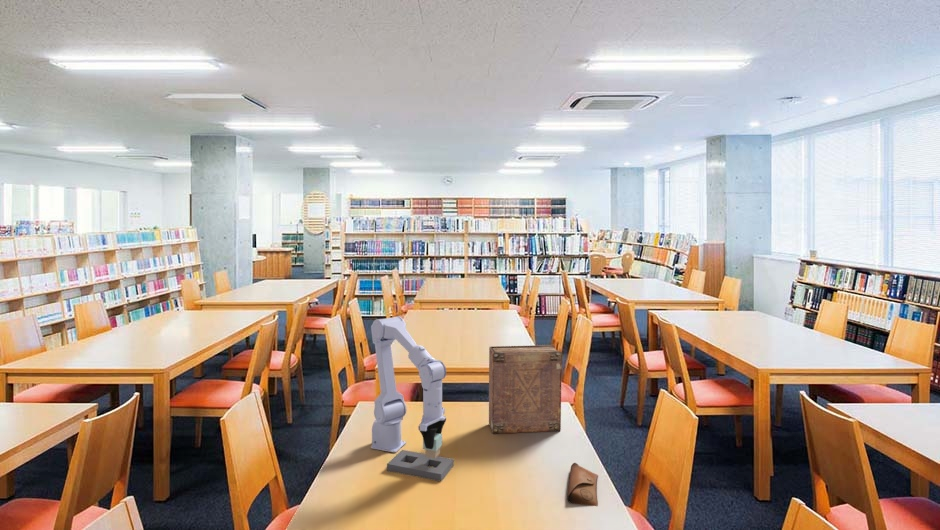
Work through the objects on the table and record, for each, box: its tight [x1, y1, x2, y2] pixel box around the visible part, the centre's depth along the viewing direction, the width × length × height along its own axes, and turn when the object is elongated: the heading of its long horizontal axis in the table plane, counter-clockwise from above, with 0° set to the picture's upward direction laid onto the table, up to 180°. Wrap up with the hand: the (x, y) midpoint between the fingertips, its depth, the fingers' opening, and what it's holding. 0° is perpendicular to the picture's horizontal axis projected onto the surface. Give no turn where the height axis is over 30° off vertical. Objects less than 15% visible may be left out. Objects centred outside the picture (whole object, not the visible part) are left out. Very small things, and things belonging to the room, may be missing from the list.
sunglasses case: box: [567, 462, 599, 507], centre depth 141 cm, size 18×7×7 cm, turn 166°
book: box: [488, 344, 563, 435], centre depth 181 cm, size 25×9×30 cm, turn 97°
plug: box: [422, 433, 443, 458], centre depth 149 cm, size 4×4×6 cm
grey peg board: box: [386, 449, 455, 482], centre depth 151 cm, size 18×10×2 cm, turn 71°
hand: (432, 444), depth 149 cm, fingers closed on plug, 4 cm apart
